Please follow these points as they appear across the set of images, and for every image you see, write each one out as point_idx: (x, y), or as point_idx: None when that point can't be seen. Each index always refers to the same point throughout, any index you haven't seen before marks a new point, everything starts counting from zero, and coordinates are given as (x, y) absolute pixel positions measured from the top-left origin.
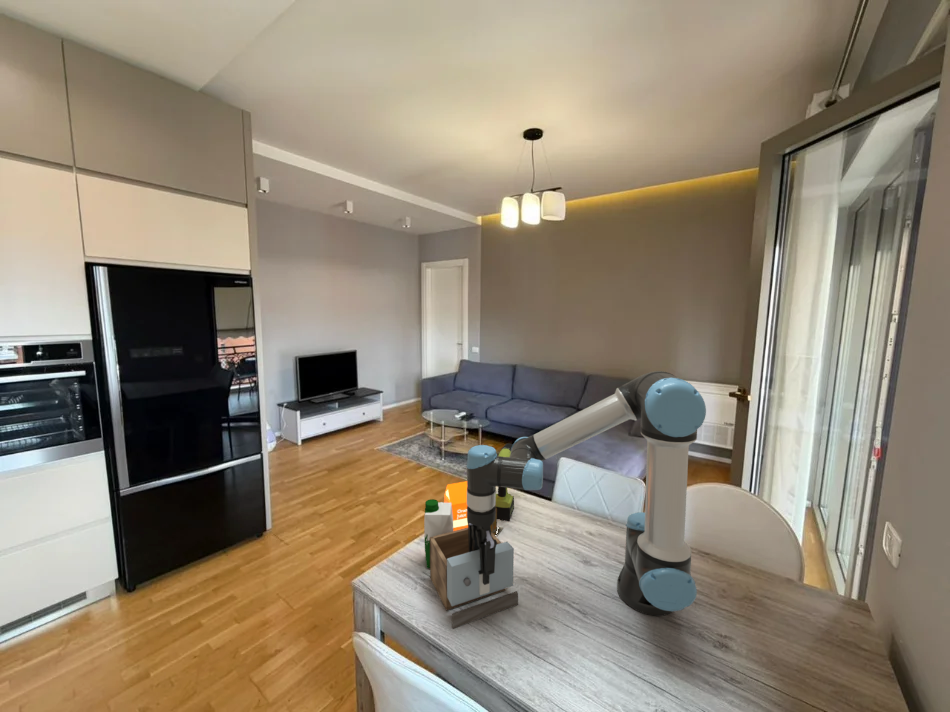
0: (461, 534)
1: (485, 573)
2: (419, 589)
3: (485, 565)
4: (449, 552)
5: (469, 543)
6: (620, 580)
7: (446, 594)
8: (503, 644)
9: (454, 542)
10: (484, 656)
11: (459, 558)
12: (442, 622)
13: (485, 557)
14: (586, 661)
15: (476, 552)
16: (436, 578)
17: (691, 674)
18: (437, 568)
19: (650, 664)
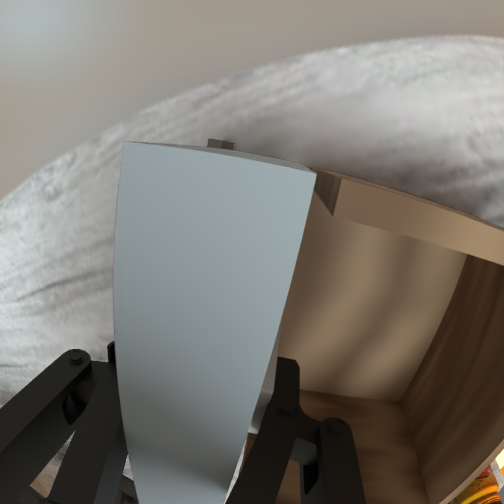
0: (492, 431)
1: (69, 357)
2: (460, 150)
3: (36, 390)
4: (492, 330)
5: (341, 482)
6: (119, 497)
7: (316, 169)
8: (96, 244)
9: (500, 379)
10: (91, 175)
11: (209, 315)
12: (270, 124)
13: (2, 430)
14: (26, 342)
15: (205, 459)
16: (443, 205)
17: (5, 401)
18: (460, 212)
19: (16, 390)
